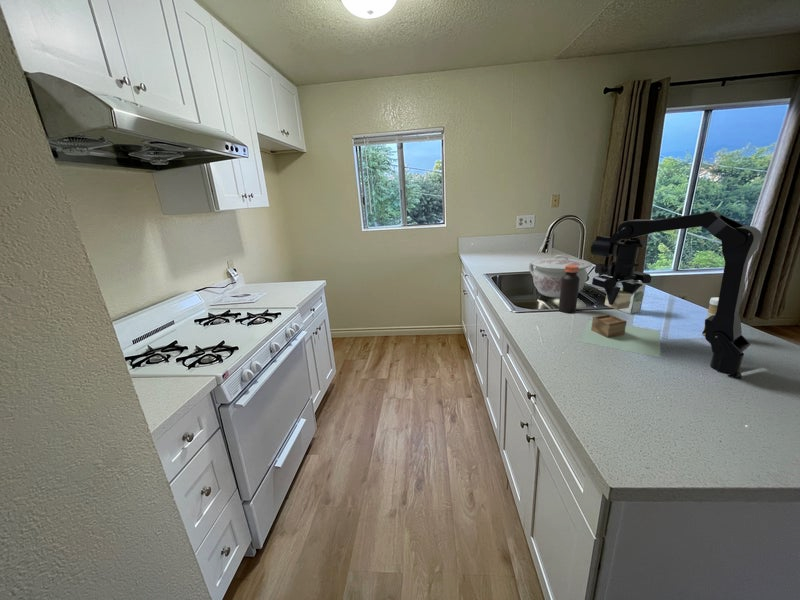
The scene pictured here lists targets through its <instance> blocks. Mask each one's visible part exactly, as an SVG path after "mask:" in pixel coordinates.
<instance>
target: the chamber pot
mask: <svg viewBox="0 0 800 600" xmlns="http://www.w3.org/2000/svg"><path fill="white" fill-rule="evenodd" d="M567 265H575V266H578V273H577V276H578V277H579V278H580V280H579V288H578V294H579V293H580V292H581V291H582V290H583V288H584V287H585V284H586V282H587V279H588V272H587V270H586V269H588V268H591V267H592V266H593V263H592V262H591V261H588V260H585V259H581V258H576V257H570V256H569V257H567V256H566V255H565V254H556V255H554V256H549V257H548V256H547V257H541V258H533V259H532V260H531V261H530V262H529V265H528V269H529V272H530V275H531V276H532V280H533V285H534V286H535V288H536V289H537V292H538V293H539V294H540V295H542V296H545V297H548V298H550V299H551V298H552V299H560V291H561V281H562V277H563V276H564V275H565V274H566V273H565V266H567Z"/></svg>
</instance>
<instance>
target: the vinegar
mask: <svg viewBox="0 0 800 600" xmlns="http://www.w3.org/2000/svg"><path fill="white" fill-rule="evenodd" d="M565 273H566V274H565V275H564V276H563V277H562V281H561V291H560V298H559V299H558V300H559V301H558V311H560V312H562V313H565V314H574V313H575V312H576V311H577V304H578V302H577V301H578V298H579V297H578V296H579V293H578V288H579V280H580V278H579V277H578V276H577V273H578V266H575V265H567V266H565Z"/></svg>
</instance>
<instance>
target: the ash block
mask: <svg viewBox="0 0 800 600" xmlns="http://www.w3.org/2000/svg"><path fill="white" fill-rule="evenodd" d="M631 295H632V294H631V293H627V292H624V291H622V289H620V291H619V293H618V295H617V297H616V299H615V301H614V303H613V305H610V304H609V302H608V298H607V293H606V295H605V301H604V305H605V306H607V307H609V308H612V309H615V310H618V309H624V308H629V305H630V300H631ZM618 311H619V310H618Z"/></svg>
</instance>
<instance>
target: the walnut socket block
mask: <svg viewBox="0 0 800 600" xmlns="http://www.w3.org/2000/svg"><path fill="white" fill-rule="evenodd" d="M591 320H592V328H591V331H594V332H596V333H598V334H600V335H602V336H604V337H606V338H610V337H616V336H621V335H624V334H625V328H626V325H627V322H628V321H627V320H624V319H622V318H620V317H617V316H614V315H611V314H603V315H597V316H596V315H595V316H592V319H591Z"/></svg>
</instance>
